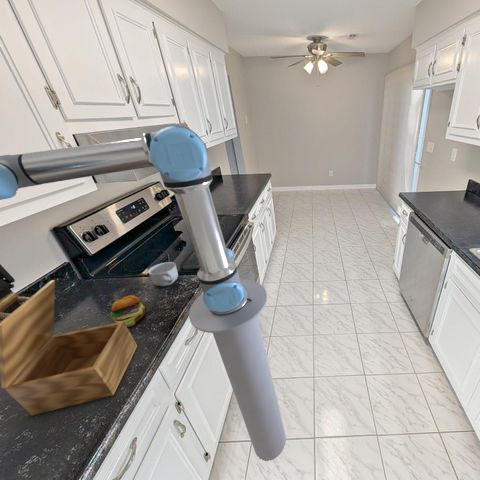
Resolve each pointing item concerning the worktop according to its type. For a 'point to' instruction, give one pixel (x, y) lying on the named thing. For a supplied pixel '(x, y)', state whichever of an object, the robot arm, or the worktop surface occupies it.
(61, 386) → the chest
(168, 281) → the teacup
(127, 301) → the cheeseburger
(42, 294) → the lid
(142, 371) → the worktop surface
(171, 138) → the robot arm
